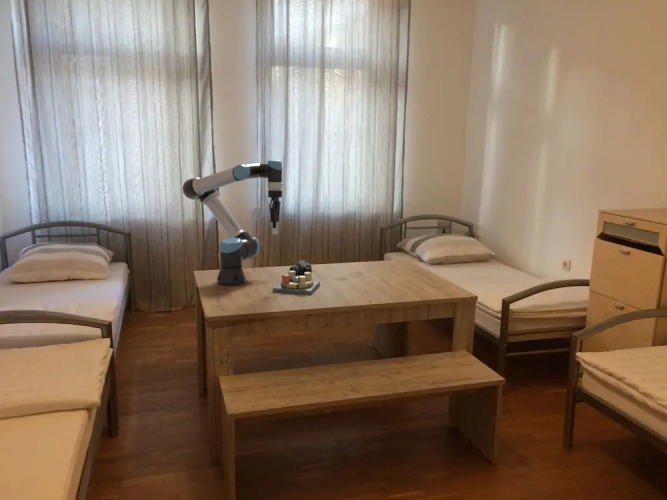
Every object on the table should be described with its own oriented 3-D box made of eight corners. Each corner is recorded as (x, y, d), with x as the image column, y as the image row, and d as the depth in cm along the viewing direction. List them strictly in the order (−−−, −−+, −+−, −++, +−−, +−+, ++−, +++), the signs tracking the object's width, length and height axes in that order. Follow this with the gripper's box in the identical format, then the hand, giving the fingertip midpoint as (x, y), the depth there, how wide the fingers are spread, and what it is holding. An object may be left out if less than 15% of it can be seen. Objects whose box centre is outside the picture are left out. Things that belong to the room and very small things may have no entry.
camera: (285, 275, 328) (285, 258, 326) (302, 274, 332) (302, 257, 330) (296, 282, 314) (296, 264, 312) (313, 280, 318) (314, 262, 316)
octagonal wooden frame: (306, 289, 290) (306, 278, 289) (276, 286, 295) (276, 276, 294) (316, 281, 306) (316, 271, 304) (288, 279, 310) (288, 269, 309)
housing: (272, 291, 293) (272, 280, 292) (283, 282, 312) (284, 271, 311) (310, 294, 289) (310, 283, 288) (319, 284, 308) (320, 274, 307)
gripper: (278, 191, 296) (278, 236, 301) (285, 188, 309) (285, 232, 314) (264, 190, 298) (264, 235, 303) (271, 188, 310) (272, 231, 315)
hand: (275, 233), depth 308 cm, fingers closed
